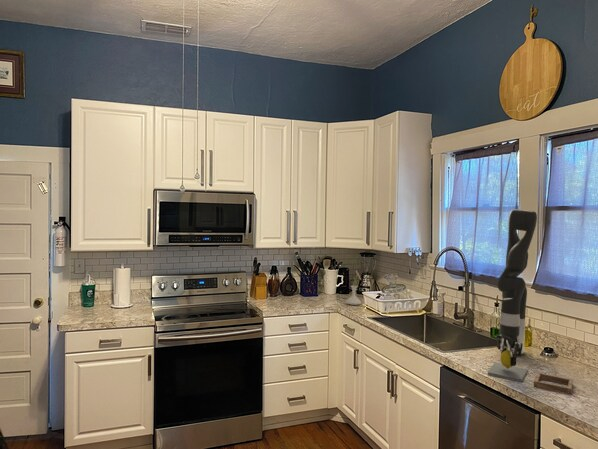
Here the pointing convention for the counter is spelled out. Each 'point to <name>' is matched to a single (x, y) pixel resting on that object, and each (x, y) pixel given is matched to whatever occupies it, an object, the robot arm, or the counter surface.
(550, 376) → the walnut collar
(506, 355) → the lemon
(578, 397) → the counter surface
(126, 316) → the counter surface
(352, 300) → the flower in vase
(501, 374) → the grey rectangular plate
